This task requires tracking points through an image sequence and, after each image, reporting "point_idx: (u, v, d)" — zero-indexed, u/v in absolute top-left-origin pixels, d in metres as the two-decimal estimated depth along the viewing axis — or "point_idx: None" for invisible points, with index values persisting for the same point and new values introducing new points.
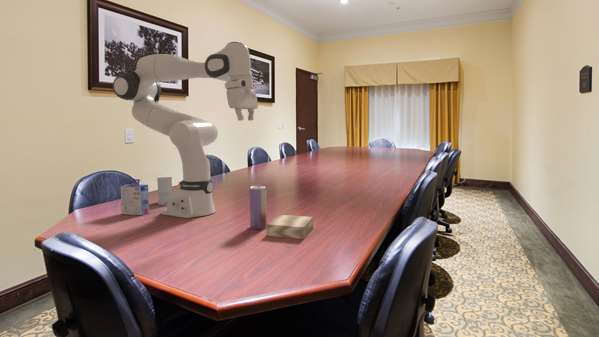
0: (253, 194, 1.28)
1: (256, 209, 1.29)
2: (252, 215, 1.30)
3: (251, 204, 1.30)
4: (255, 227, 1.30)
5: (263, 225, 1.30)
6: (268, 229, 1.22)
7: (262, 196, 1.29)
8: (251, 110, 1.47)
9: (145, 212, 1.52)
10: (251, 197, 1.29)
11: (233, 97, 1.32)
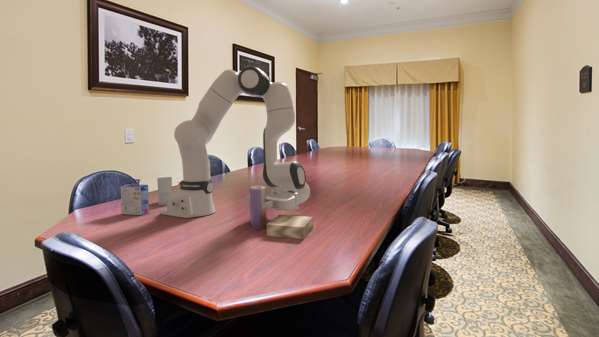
0: (253, 194, 1.28)
1: (256, 209, 1.29)
2: (252, 215, 1.30)
3: (251, 204, 1.29)
4: (255, 227, 1.30)
5: (263, 225, 1.30)
6: (268, 229, 1.22)
7: (262, 196, 1.29)
8: None
9: (145, 212, 1.52)
10: (251, 197, 1.29)
11: (291, 205, 1.32)
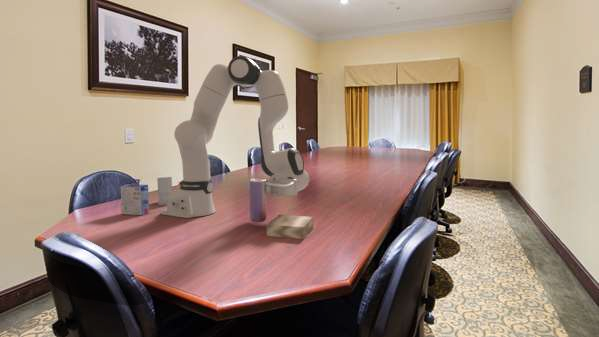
0: (254, 187, 1.28)
1: (257, 201, 1.28)
2: (252, 208, 1.29)
3: (251, 197, 1.29)
4: (255, 220, 1.29)
5: (264, 218, 1.30)
6: (268, 229, 1.22)
7: (263, 188, 1.28)
8: None
9: (145, 212, 1.52)
10: (251, 190, 1.28)
11: (291, 191, 1.31)
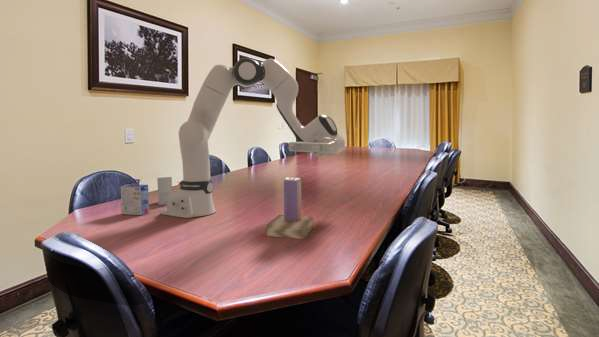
0: (289, 186, 1.22)
1: (292, 201, 1.22)
2: (287, 208, 1.23)
3: (286, 196, 1.23)
4: (290, 220, 1.23)
5: (299, 218, 1.24)
6: (268, 229, 1.22)
7: (298, 187, 1.23)
8: (295, 148, 1.46)
9: (145, 212, 1.52)
10: (286, 189, 1.23)
11: (333, 149, 1.41)
